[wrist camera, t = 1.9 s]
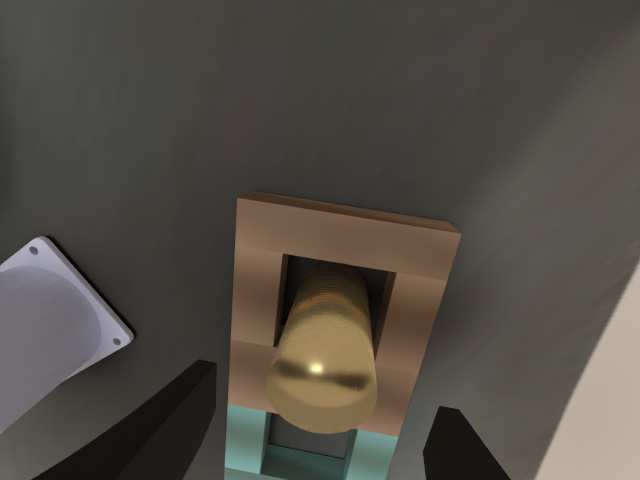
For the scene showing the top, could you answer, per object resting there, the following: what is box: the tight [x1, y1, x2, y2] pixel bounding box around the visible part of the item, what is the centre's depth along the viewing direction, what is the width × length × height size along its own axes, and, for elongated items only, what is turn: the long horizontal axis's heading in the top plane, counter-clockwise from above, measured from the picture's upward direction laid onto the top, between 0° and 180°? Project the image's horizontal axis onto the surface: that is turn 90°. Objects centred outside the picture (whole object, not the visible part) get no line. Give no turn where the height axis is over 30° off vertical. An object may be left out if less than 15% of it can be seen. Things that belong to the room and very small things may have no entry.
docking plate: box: [224, 191, 462, 480], centre depth 18 cm, size 20×10×2 cm, turn 172°
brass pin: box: [266, 261, 377, 434], centre depth 14 cm, size 4×4×7 cm
